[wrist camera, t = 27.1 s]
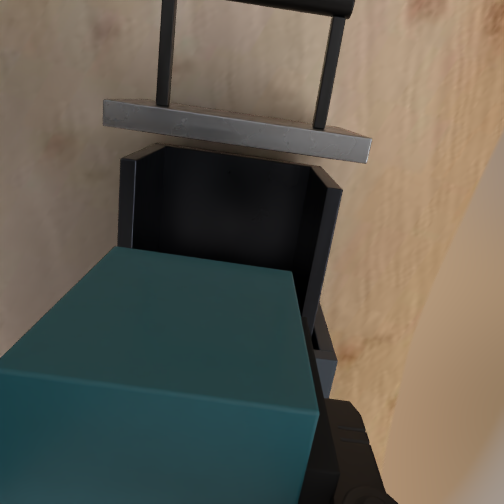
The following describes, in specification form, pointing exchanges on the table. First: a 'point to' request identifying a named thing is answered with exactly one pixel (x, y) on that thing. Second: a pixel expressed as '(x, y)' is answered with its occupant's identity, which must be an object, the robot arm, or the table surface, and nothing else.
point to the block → (160, 388)
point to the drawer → (236, 173)
